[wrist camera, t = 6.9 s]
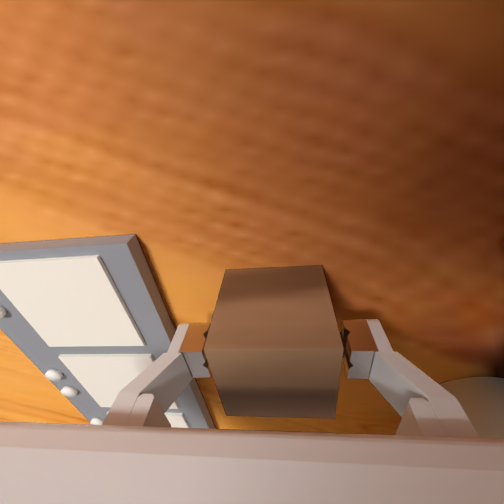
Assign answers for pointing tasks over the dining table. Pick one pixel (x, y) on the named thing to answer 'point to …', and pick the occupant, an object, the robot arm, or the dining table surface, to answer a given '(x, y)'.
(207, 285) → the dining table surface
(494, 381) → the sage mug
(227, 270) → the marker cube
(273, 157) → the dining table surface
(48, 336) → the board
